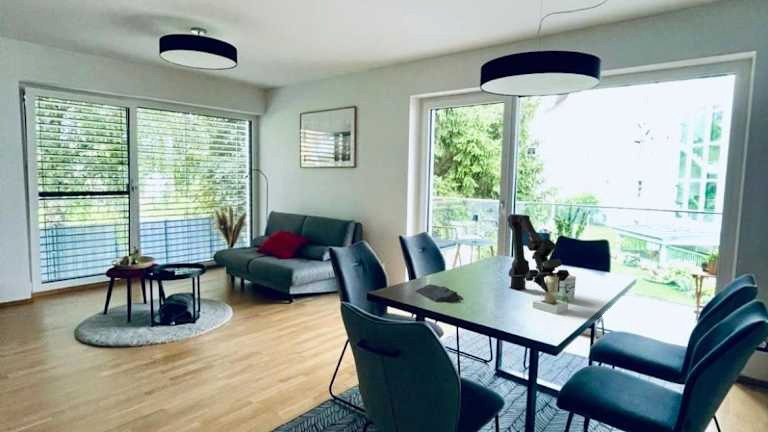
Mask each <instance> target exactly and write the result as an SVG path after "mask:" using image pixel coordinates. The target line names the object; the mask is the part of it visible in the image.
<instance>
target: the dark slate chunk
mask: <svg viewBox="0 0 768 432" xmlns="http://www.w3.org/2000/svg"><path fill="white" fill-rule="evenodd" d="M415 292H416V293H417V294H419V295H420V296H423V297H424V298H426V299H428V300H430V301H433V302H435V303H440V304H442V303H453V302H458V301H461V300H464V297H463V296H461V295H460V294H458V291H454V290H451V289H450V288H448V287H446V286H443V285H442V286H439V285H437V284H427V285H425V286H423V287H420V288H417V289H416V290H415Z"/></svg>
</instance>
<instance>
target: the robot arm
mask: <svg viewBox="0 0 768 432" xmlns="http://www.w3.org/2000/svg"><path fill="white" fill-rule="evenodd" d="M507 223H508V227H509V228H510V230H511V231H512V240H513V242H512V243H513V251H514V259H513V261H512V263H511V268H510V269H509V270H508V276H509V277H510V278H511V279H510V286H509V287H508V288H509V289H512V290H516V291H523V290H526V289H527V287H526V286H527V285H526V282H533V283H535V284H536V285H538V286H539V287H540V288H541V289H542V290H543V291H544V292H545V291H546V292H548V288H547V286H546V279H545V278H546V277H547V276H556V277H559V279H558V292H559V288H560V281H564V280H565V279H566V278H567V277H568V276H569V275H570V272H569V271H568V269H558V271H557V272H555V271H556V269H557V268H559V267H561V266H562V261H561V259H560V258H555V259H549V257H550V255H551V254H552V253H553V251H555V249H556V243H555V242H554V241H553V240H551V239H549V237H544V238H543V237H542V236H541V235H539V234H538V233H537V231H536V229H535V228H534V225H533V223H532V222H531V218H530V215H527V214H521V213H519V214H518V213H517V214H515V213H514V214H513V213H512V214H510V215H508V217H507ZM523 232H524V234H525V236H526V238H527V241H526V245H527V248H528V250H529V251H530V252H533V253H532V257H531V258H532V260H534V261H535V264H536V266H535V269H530V265H529V264H530V262H529V260H527V259H526V257H525V248H524V235H523Z"/></svg>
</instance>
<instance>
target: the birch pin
mask: <svg viewBox="0 0 768 432" xmlns="http://www.w3.org/2000/svg"><path fill="white" fill-rule="evenodd" d="M558 279H559V277H556V276H547V277H545V283H546V286H547V288H548V292H546V291H545V290H544V293H545V294H544V297H545V303H548V304H552V305H556V304H557V292H558Z"/></svg>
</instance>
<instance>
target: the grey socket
mask: <svg viewBox="0 0 768 432" xmlns="http://www.w3.org/2000/svg"><path fill="white" fill-rule="evenodd" d="M532 309H536V310H540V311H544V312H547V313H551V314H554V315H558V314H560V313H562V312H565V311H567V310H569V302H568V301H566V302H563V301H559V300H557V304H556V305H552V304H548V303H545V296H544V297H542V298H538V299H534V300H533V301H532Z"/></svg>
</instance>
